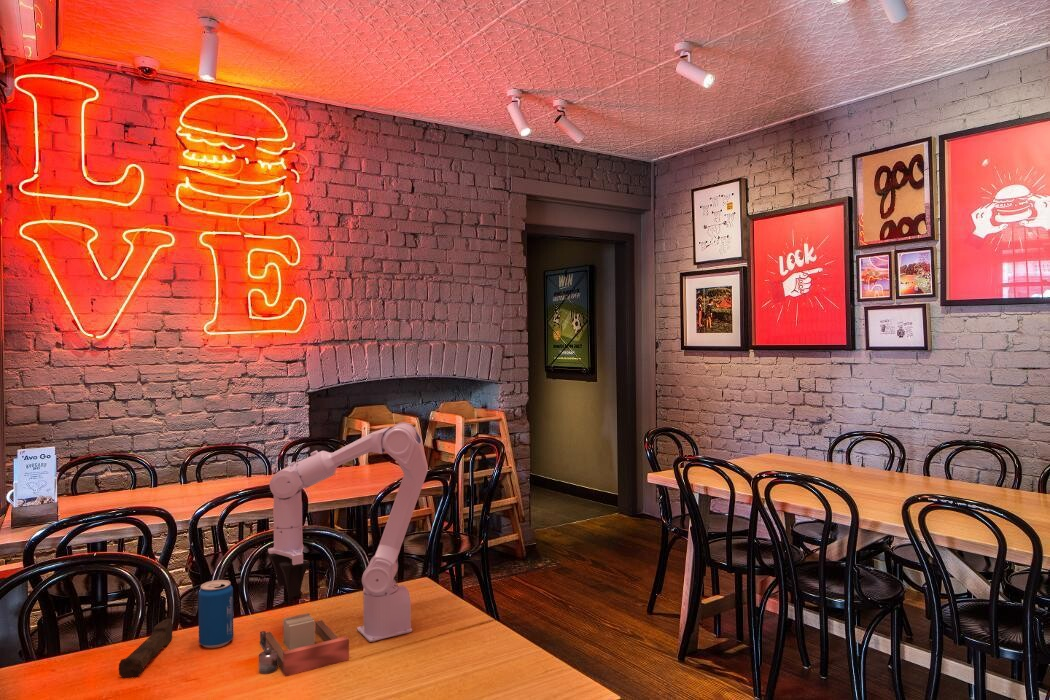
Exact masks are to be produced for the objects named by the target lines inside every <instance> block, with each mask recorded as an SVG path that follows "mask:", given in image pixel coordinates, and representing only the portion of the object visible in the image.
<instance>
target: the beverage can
mask: <svg viewBox="0 0 1050 700" xmlns="http://www.w3.org/2000/svg"><path fill="white" fill-rule="evenodd" d="M197 596H198V597H197V598H198V602H197V603H198V604H197V605H198V606H197V607H198V644H199V645H201V646H203V648H206V649H215V648H216V649H218V648H220V647H224V646H226V645H227V644H229V643H230V641H232V640H233V638H234V587H233V586H232V585H231V581H230V580H228V579H227V580H226V579H216V580H209V581H206V582H204V583H202V584H201V585H200V589H199V590H198V594H197Z"/></svg>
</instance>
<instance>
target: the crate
mask: <svg viewBox="0 0 1050 700" xmlns="http://www.w3.org/2000/svg"><path fill="white" fill-rule="evenodd" d="M315 622H316V621H315V618H314V617H312V616H311V615H310V613H303V614H297V615H292V616H288V617H284V618H282V625H283V627H282V628H283V629H282V633H283V634H282V636H283V644H284V645H285V646H286V648H287V649H288V650H292V649H296V648H300V647H304V646H308V645H313V644H316V631H315Z"/></svg>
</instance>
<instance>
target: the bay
mask: <svg viewBox="0 0 1050 700" xmlns="http://www.w3.org/2000/svg"><path fill="white" fill-rule="evenodd" d="M315 633H316V634H317V635H318V636H319V637H320V638H321V639H322V642H318V643H315V644H313V645H308V646H304V647H300V648H296V649H292V650H289V649H288V650H284V649H283V648H282V646H281V645H280V643H279V642H278V640H277V639H276V637H275V636H274V635H273V634H272V632H271V631H267V632H266V642H267V643H268V645H269V646H270V648H271V650H275V651H277V667H279V670H280V671H281V672H282V673H283V675H284V676H285V677H286V676H290V675H291V676H292V675H295V674H299V673H302V672H306V671H311V670H314V669H318V668H322V667H326V666H329V665H333V664H338V663H341V662H345V661H349V660H350V639H349V637H348V636H347V635H346V636H343V637H338V636H337V635H336V634H335V632H333V630H332V629H331V628H330V627H329V626H328V625H327V624H326V622H324V620H322V619H321V620H316V621H315Z"/></svg>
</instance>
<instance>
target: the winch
mask: <svg viewBox="0 0 1050 700" xmlns="http://www.w3.org/2000/svg"><path fill="white" fill-rule="evenodd" d="M259 637H260V638H259V646H260V647H261V648H262V650H263V651H261V652H260V653H258V672H259V673H260V674H261V675H262V674H264V675H265V674H272V673H275V672H276V671H277V670H278V664H277V651H275V650H271V648H270V646H269V645H268V643H267V642H266V631H265V630H262V631H260V632H259Z"/></svg>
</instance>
